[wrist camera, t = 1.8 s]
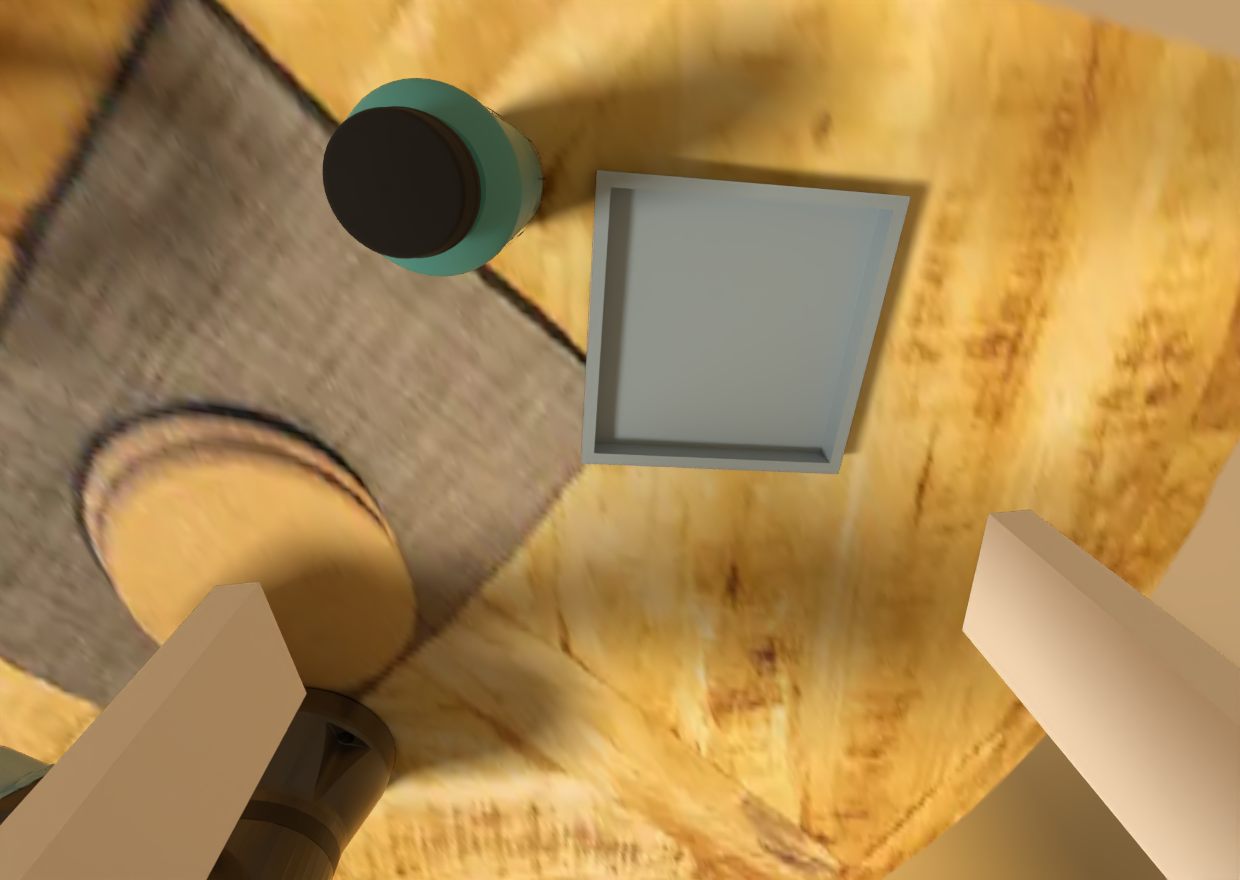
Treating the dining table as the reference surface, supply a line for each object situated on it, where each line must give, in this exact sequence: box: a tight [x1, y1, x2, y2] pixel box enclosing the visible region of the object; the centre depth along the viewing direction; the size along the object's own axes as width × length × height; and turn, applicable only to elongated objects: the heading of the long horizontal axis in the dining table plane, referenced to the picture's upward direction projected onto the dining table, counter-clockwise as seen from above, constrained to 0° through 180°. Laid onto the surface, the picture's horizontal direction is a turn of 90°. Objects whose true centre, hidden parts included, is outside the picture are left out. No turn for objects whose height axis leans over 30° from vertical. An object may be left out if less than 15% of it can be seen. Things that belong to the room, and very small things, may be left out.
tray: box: [582, 170, 911, 474], centre depth 37 cm, size 18×18×2 cm
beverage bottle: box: [323, 78, 546, 276], centre depth 25 cm, size 6×7×20 cm
